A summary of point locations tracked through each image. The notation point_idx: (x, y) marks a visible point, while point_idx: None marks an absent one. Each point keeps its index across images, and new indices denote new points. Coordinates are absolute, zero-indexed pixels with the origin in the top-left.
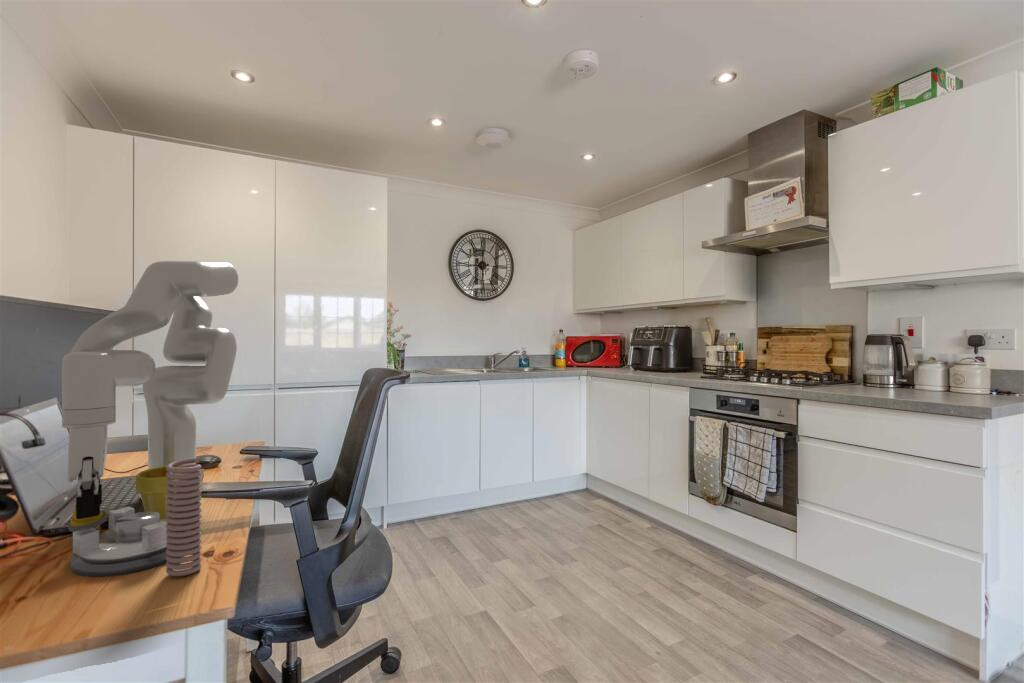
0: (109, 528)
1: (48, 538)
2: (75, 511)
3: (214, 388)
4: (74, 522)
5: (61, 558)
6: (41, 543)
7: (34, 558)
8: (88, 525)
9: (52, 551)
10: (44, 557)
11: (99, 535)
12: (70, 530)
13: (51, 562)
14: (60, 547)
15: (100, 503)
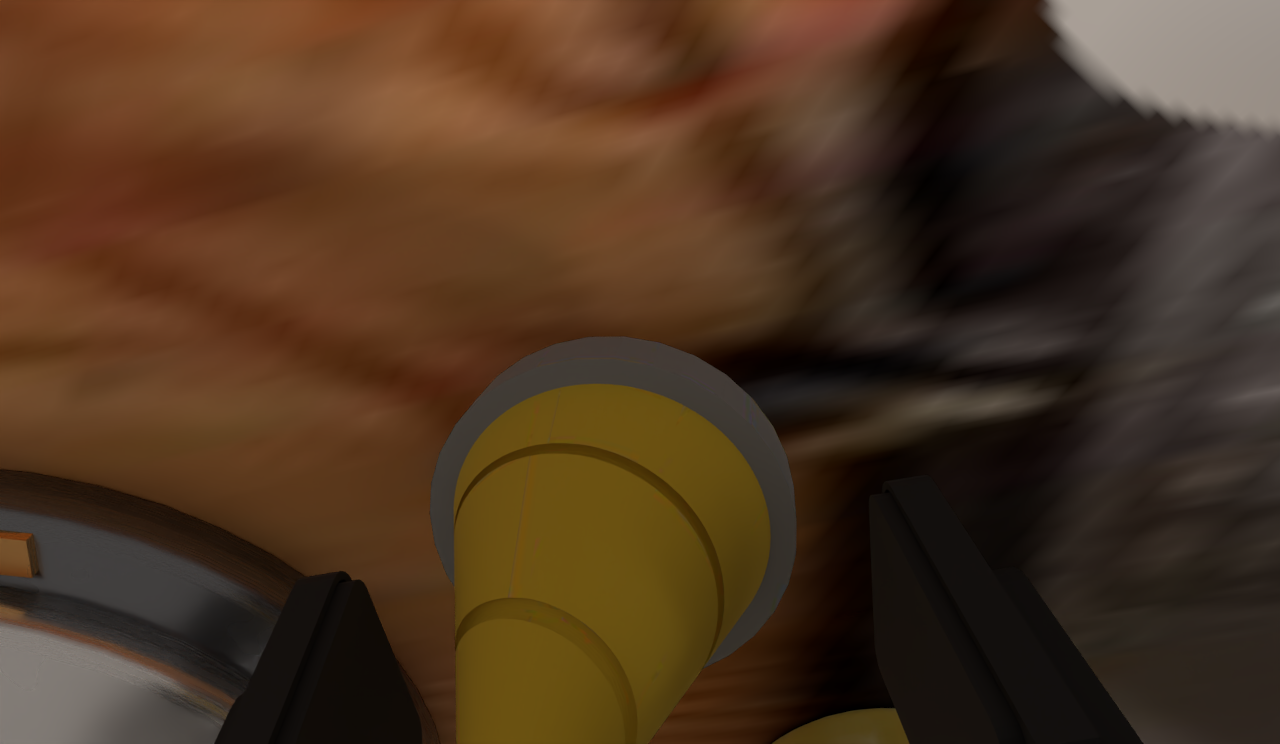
0: None
1: (853, 36)
2: (490, 558)
3: None
4: (481, 462)
5: (114, 342)
6: (702, 12)
7: (201, 98)
8: (447, 554)
9: (357, 208)
10: (197, 187)
11: (74, 698)
12: (506, 373)
13: (29, 290)
14: (452, 247)
15: (881, 668)
